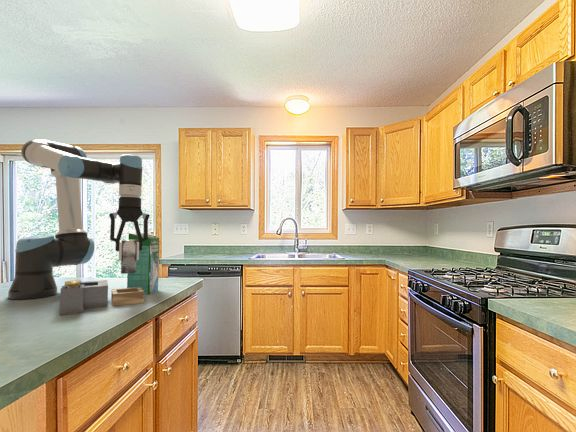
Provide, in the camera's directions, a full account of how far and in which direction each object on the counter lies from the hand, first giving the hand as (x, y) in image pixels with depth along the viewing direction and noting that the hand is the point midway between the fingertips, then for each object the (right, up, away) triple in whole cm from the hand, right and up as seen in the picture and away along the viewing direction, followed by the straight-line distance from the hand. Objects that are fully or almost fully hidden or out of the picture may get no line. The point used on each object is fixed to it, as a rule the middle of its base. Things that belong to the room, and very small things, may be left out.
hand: (128, 259), depth 119 cm
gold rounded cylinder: (-11, -12, -15) cm, 22 cm away
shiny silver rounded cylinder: (0, -5, 0) cm, 5 cm away
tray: (0, -15, -1) cm, 15 cm away
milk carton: (-2, -16, +16) cm, 23 cm away
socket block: (-11, -15, -8) cm, 20 cm away
